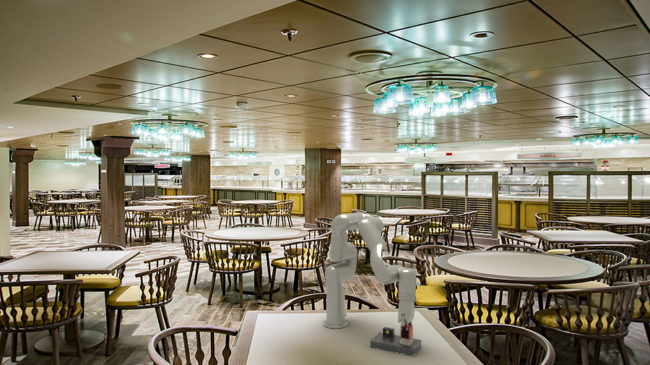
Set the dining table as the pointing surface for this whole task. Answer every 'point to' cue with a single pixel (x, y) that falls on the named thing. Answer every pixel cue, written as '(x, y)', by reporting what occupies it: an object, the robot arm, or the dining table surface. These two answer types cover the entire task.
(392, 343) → the panel
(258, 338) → the dining table surface
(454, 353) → the dining table surface
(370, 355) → the dining table surface
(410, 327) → the red block
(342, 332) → the dining table surface
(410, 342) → the button
